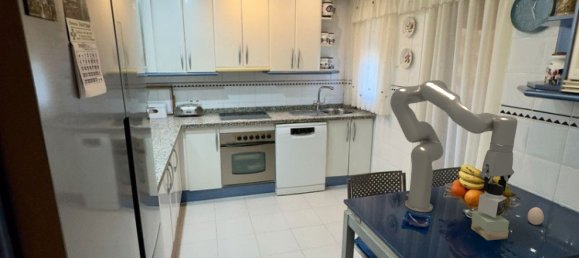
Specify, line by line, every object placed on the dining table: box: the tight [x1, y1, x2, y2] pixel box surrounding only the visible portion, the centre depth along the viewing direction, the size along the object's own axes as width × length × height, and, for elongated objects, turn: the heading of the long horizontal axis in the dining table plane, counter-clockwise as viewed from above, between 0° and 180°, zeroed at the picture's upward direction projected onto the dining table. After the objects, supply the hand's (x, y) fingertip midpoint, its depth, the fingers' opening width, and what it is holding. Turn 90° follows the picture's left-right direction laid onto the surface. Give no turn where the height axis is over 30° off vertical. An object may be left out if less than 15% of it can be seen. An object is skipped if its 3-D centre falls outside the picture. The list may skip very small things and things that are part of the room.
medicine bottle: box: [477, 182, 508, 218], centre depth 126 cm, size 7×7×12 cm
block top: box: [471, 210, 510, 232], centre depth 127 cm, size 9×9×4 cm
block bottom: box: [470, 220, 509, 241], centre depth 128 cm, size 9×9×4 cm
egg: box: [527, 206, 545, 226], centre depth 135 cm, size 6×6×8 cm
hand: (494, 190), depth 125 cm, fingers closed on medicine bottle, 6 cm apart
